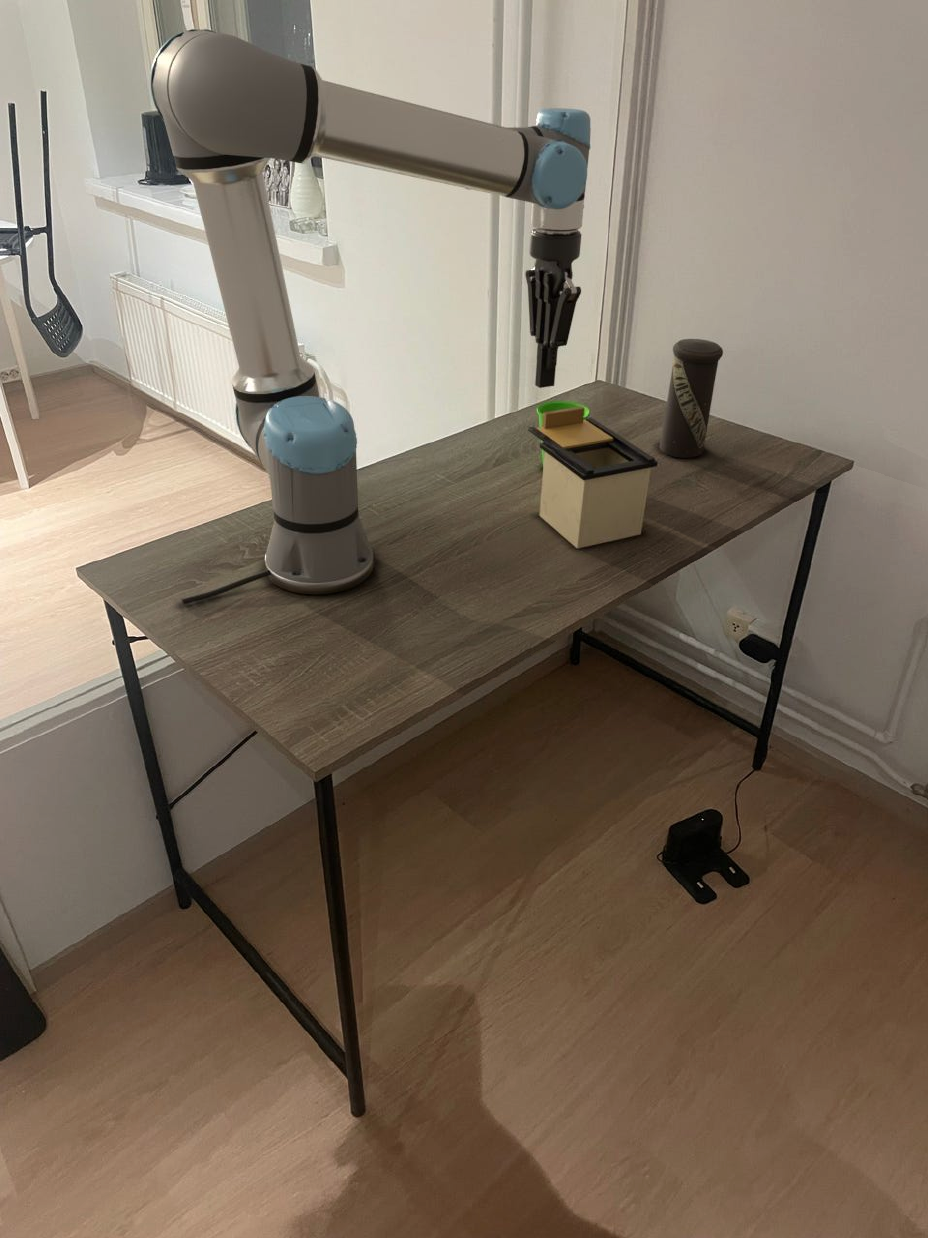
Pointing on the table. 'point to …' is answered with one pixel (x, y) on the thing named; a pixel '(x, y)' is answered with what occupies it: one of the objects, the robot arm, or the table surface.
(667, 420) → the container
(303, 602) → the table surface
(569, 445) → the shutter
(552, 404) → the cup
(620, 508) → the sliding lid box
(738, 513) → the table surface
